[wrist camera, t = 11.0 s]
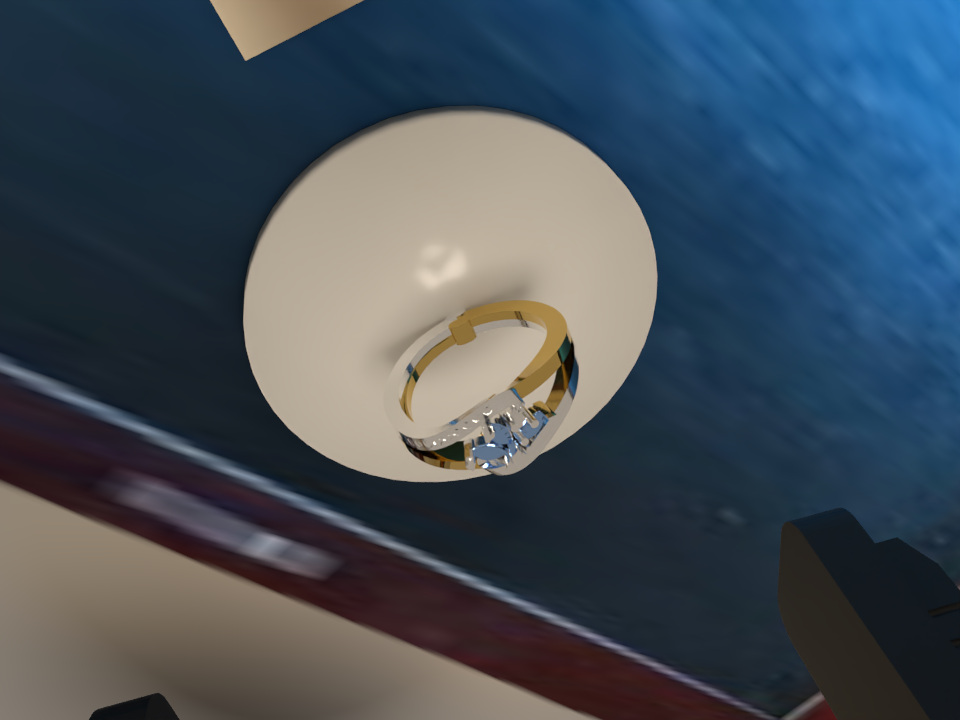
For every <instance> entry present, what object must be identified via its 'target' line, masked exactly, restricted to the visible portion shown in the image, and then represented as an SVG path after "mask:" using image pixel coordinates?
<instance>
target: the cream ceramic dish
mask: <svg viewBox="0 0 960 720" xmlns="http://www.w3.org/2000/svg"><path fill="white" fill-rule="evenodd" d="M656 293H657V267H656V257H655V251H654V247H653V243H652V239H651V235H650V231H649V228H648V226H647V223H646V221H645V219H644V216H643V214H642V212H641V209H640V207H639V206H638V204H637V203H636V201H635V199H634V198H633V196H632V195H631V193H630V191H629V190H628V188H627V187H626V186H625V185H624V184H623V182H622V181H621V180H620V179H619V178H618V177H617V176H616V174H615V173H614V172H613V171H612V170H611V169H610V168H609V166H608V165H607V164H606V163H605V162H604V161H603V160H602V159H601V158H600V157H599V156H598V155H597V154H596V153H595V152H593V151H592V150H591V149H590V148H589V147H588V146H586V145H585V144H584V143H583V142H582V141H580V140H579V139H577V138H575V137H574V136H572V135H571V134H569V133H567V132H566V131H564V130H562V129H561V128H559V127H557V126H555V125H552V124H550V123H548V122H545V121H543V120H541V119H538V118H536V117H534V116H530V115H526V114H523V113H519V112H515V111H511V110H508V109H501V108H493V107H485V106H443V107H436V108H429V109H422V110H416V111H413V112H409V113H406V114H402V115H398V116H395V117H391V118H388V119H385V120H383V121H381V122H378V123H376V124H374V125H371V126H369V127H367V128H364V129H362V130H360V131H358V132H356V133H354V134H353V135H351V136H349V137H348V138H346V139H344V140H343V141H341V142H339V143H337V144H336V145H334V146H333V147H331V148H330V149H329V150H327V151H326V152H325V153H324V154H322V155H321V156H320V157H318V158H317V159H316V160H315V161H313V162H312V163H311V164H310V165H309V166H308V167H307V168H306V169H305V170H304V171H303V172H302V173H301V174H300V175H299V176H298V177H297V178H296V179H295V180H294V181H293V182H292V183H291V184H290V185H289V186H288V188H287V189H286V190H285V192H284V193H283V194H282V196H281V197H280V198H279V200H278V201H277V202H276V204H275V205H274V206H273V208H272V210H271V211H270V213H269V215H268V217H267V219H266V221H265V222H264V224H263V226H262V228H261V230H260V232H259V234H258V237H257V239H256V242H255V245H254V248H253V250H252V253H251V256H250V260H249V264H248V269H247V274H246V279H245V289H244V312H243V325H244V334H245V344H246V350H247V354H248V357H249V361H250V365H251V368H252V372H253V374H254V376H255V378H256V381H257V383H258V385H259V387H260V390H261V392H262V394H263V395H264V397H265V398H266V400H267V401H268V403H269V404H270V406H271V407H272V409H273V411H274V412H275V413H276V414H277V415H278V417H279V418H280V419H281V420H282V421H283V422H284V423H285V425H286V426H287V427H288V428H289V429H290V430H291V431H292V432H293V433H295V434H296V435H297V436H298V437H299V438H300V439H302V440H303V441H304V442H305V443H306V444H307V445H309V446H311V447H312V448H314V449H315V450H317V451H318V452H320V453H321V454H323V455H324V456H326V457H328V458H330V459H332V460H334V461H336V462H338V463H340V464H342V465H344V466H347V467H349V468H352V469H355V470H358V471H361V472H364V473H367V474H370V475H374V476H379V477H384V478H388V479H393V480H403V481H412V482H444V481H454V480H464V479H468V478H473V477H478V476H483V475H488V474H491V473H490V472H488V471H487V470H485V469H483V468H481V469H475V470H474V471H471V470H452V469H444V468H439V467H435V466H432V465H429V464H427V463H425V462H423V461H421V460H419V459H418V458H416V457H415V456H414V455H412V454H411V453H410V452H409V451H408V450H407V449H406V447H405V446H404V445H403V443H402V441H401V440H400V438H399V436H398V435H397V433H396V432H395V431H394V429H393V427H392V425H391V423H390V421H389V419H388V418H387V416H386V413H385V410H384V404H383V397H384V390H385V386H386V383H387V380H388V378H389V376H390V373H391V371H392V370H393V368H394V366H395V365H396V363H397V362H398V360H399V359H400V357H401V356H402V355H403V354H404V352H405V351H406V350H407V349H408V348H409V347H410V346H411V345H412V344H413V343H414V342H415V341H416V340H417V339H419V338H420V337H421V336H422V335H423V334H425V333H426V332H427V331H429V330H430V329H432V328H433V327H435V326H436V325H438V324H440V323H441V322H443V321H445V320H446V319H445V318H446V316H447V315H449V314H450V313H452V312H454V311H457V310H460V309H465V310H466V311H468V310H471V309H474V308H477V307H480V306H484V305H487V304H492V303H497V302H503V301H512V300H527V301H535V302H540V303H543V304H546V305H549V306H551V307H553V308H555V309H556V310H557V311H559V312H560V313H561V314H562V315H563V317H564V318H565V321H566V323H567V326H568V328H569V331H570V333H571V335H572V338H573V341H574V344H575V347H576V350H577V354H578V360H579V378H578V385H577V390H576V394H575V397H574V400H573V403H572V405H571V407H570V410H569V412H568V413H567V415H566V417H565V419H564V421H563V422H562V424H561V425H560V427H559V428H558V430H557V431H556V433H555V434H554V436H553V437H552V439H551V440H550V441H549V443H548V444H547V445H546V447H545V448H544V449H543V451H542V452H541V453H540V454H542V453H543V452H545V451H547V450H549V449H551V448H553V447H554V446H556V445H557V444H559V443H560V442H562V441H563V440H565V439H566V438H568V437H569V436H571V435H572V434H574V433H575V432H576V431H577V430H579V429H580V428H581V427H582V426H583V425H585V424H586V423H587V422H588V421H589V420H591V419H592V418H593V417H594V416H595V415H596V414H597V413H598V412H599V411H600V410H601V409H602V408H603V407H604V406H605V405H606V404H607V403H608V401H609V400H610V399H611V398H612V396H613V395H614V394H615V393H616V391H617V390H618V389H619V388H620V386H621V385H622V384H623V382H624V381H625V379H626V377H627V376H628V374H629V373H630V371H631V369H632V368H633V366H634V365H635V363H636V361H637V359H638V356H639V354H640V352H641V350H642V348H643V346H644V344H645V341H646V338H647V335H648V332H649V329H650V326H651V323H652V318H653V313H654V308H655V302H656ZM476 335H477V337H476V338H475V339H474V340H473V341H471V342H469V343H467V344H464V345H457V344H454V345H453V346H451V347H449V348H448V349H446V350H445V351H444V352H442V353H441V354H440V355H438V356H437V357H436V358H435V359H434V360H433V361H432V362H431V363H430V364H429V365H428V366H427V367H426V369H425V370H424V371H423V373H422V374H421V376H420V377H419V379H418V381H417V383H416V385H415V388H414V391H413V395H412V401H411V412H412V417H413V421H414V423H415V424H417V425H419V426H421V427H425V428H435V427H439V426H442V425H445V424H447V423H449V422H451V421H453V420H454V419H456V418H458V417H459V416H461V415H462V414H464V413H465V412H467V411H468V410H470V409H471V408H472V407H474V406H475V405H477V404H478V403H479V402H481V401H482V400H484V399H485V398H487V397H489V396H491V395H493V394H496V393H502V392H504V390H505V389H506V388H507V387H508V386H509V385H510V384H511V383H512V382H513V381H514V380H515V379H516V378H517V377H518V376H519V375H520V374H521V373H522V372H523V370H524V369H525V368H526V367H527V366H528V365H529V364H530V362H531V361H532V360H533V359H534V357H535V356H536V355H537V353H538V352H539V351H540V349H541V347H542V346H543V344H544V342H545V339H546V336H547V335H546V334H545V333H543V332H541V331H538V330H535V329H532V328H527V327H502V328H496V329H491V330H488V331H484V332H481V333H478V334H476ZM555 376H556V372H555V373H554V374H553V375H552V376H551V377H550V378H549V379H548V380H547V381H545V382H544V383H543V384H542V385H541V386H539V387H538V388H537V389H535V390H534V391H533V392H531V393H530V394H529V395H527V396H526V397H524V398H523V400H524V402H525V406H526V408H527V409H528V408H529V407H531V406H533V405H532V404H533V403H535V402H537V401H540V400H541V401H542V402H543V403H546V401H547V399H548V397H549V394H550V392H551V389H552V387H553V384H554V380H555ZM481 431H482V430H481V427H480V426H479V427H478V428H477V429H475V430H474V431H473V432H471V433H470V434H468V435H467V436H465V437H464V438H462V439H461V440H459V441H466V440H467V439H470V438H472V439H474V438H476V437H479V435H480V433H481ZM540 454H539V455H540Z"/></svg>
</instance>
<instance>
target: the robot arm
mask: <svg viewBox="0 0 960 720" xmlns="http://www.w3.org/2000/svg"><path fill="white" fill-rule="evenodd" d="M778 604H779V609H780V613H781V617H782V620H783V623H784V626H785V628H786V631H787V633H788V635H789V638H790V640H791V642H792V643H793V645H794V647H795V649H796V650H797V652H798V654H799V655H800V657H801V659H802V660H803V662H804V664H805V665H806V667H807V669H808V671H809V672H810V674H811V676H812V677H813V679H814V681H815V682H816V684H817V686H818V687H819V689H820V691H821V693H822V694H823V696H824V698H825V699H826V701H827V703H828V704H829V706H830V708H831V709H832V711H833V713H834V714H835V716H836V718H837V720H960V590H959V589H958V588H957V586H956V585H955V584H954V583H953V582H952V580H951V579H950V578H949V577H948V575H947V574H946V573H945V572H944V571H943V569H942V568H941V567H940V566H939V565H938V564H937V563H936V562H934V561H933V560H931V559H930V558H928V557H926V556H925V555H923V554H922V553H920V552H919V551H917V550H916V549H914V548H913V547H911V546H909V545H908V544H906V543H905V542H903V541H902V540H900V539H899V538H893V539H890V540H886V541H883V542H879V543H874V542H873V540H872V539H871V538H870V536H869V535H868V534H867V532H866V531H865V530H864V529H863V527H862V526H861V525H860V523H859V522H858V521H857V520H856V518H855V517H854V516H853V515H852V514H851V513H850V512H849V511H847V510H846V509H843V508H836V509H833V510H829V511H825V512H822V513H818V514H814V515H811V516H807V517H804V518H800V519H796V520H793V521H789V522H786V523H784V525H783V527H782V531H781V545H780V563H779V581H778ZM89 720H179V718H178V717H177V715H176V714H175V712H174V711H173V709H172V707H171V706H170V705H169V703H168V702H167V700H166V699H165V697H164V696H163V695H161V694H159V693H155V694H151V695H148V696H144V697H141V698H137V699H133V700H129V701H126V702H122V703H119V704H115V705H111V706H108V707H104V708H101V709H98V710H96V711H95V712H93V714H92V715H91V717H90V719H89Z"/></svg>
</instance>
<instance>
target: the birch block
mask: <svg viewBox="0 0 960 720" xmlns="http://www.w3.org/2000/svg"><path fill="white" fill-rule="evenodd" d="M210 1H211V3H212V5H213V6H214V8H215V10H216V11H217V13H218V15H219V17H220V18H221V20H222V22H223V23H224V25H225V27H226V28H227V30H228V32H229V34H230V35H231V37H232V39H233V40H234V42H235V44H236V45H237V47H238V49H239V51H240V52H241V54H242V56H243V57H244V59H245V61H246V60H248V59H250V58H252V57H254V56H256V55H258V54H260V53H262V52H264V51H266V50H268V49H270V48H272V47H274V46H275V45H277V44H279V43H281V42H283V41H285V40H287V39H289V38H291V37H293V36H295V35H297V34H299V33H301V32H303V31H305V30H307V29H309V28H311V27H313V26H314V25H316V24H318V23H320V22H322V21H324V20H326V19H328V18H330V17H332V16H334V15H336V14H338V13H340V12H342V11H344V10H346V9H348V8H350V7H351V6H353V5H355V4H357V3H359V2H361V1H363V0H210Z"/></svg>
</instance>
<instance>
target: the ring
mask: <svg viewBox="0 0 960 720" xmlns="http://www.w3.org/2000/svg"><path fill="white" fill-rule="evenodd" d="M445 319H446V320H445V321H443V322H441V323H440V324H438V325H436V326H435V327H433V328H432V329H430V330H429V331H427V332H426V333H425V334H423V335H422V336H421V337H420V338H419V339H417V340H416V341H415V342H414V343H413V344H412V345H411V346H410V347H409V348H408V349H407V350H406V351H405V352H404V354H403V355H402V356H401V357H400V359H399V360H398V362H397V363H396V365H395V366H394V368H393V370H392V371H391V373H390V376H389V378H388V380H387V383H386V386H385V390H384V397H383V404H384V410H385V413H386V416H387V418H388V419H389V421H390V423H391V425H392V427H393V429H394V431H395V432H396V433H397V435H398V436H399V438H400V440H401V441H402V443H403V445H404V446H405V447H406V449H407V450H408V451H409V452H410V453H411V454H412V455H414V456H415V457H416V458H418V459H419V460H421V461H423V462H425V463H427V464H429V465H432V466H435V467H439V468H444V469H452V470H471V471H474V470H475V469H481V468H483V469H485V470H487V471H488V472H490V473H493V474H496V475H508V474H512V473H515V472H518V471H520V470H521V469H523V468H525V467H526V466H528V465H529V464H530V463H531V462H532V461H533V460H534V459H535V458H536V457H537V456H538V455H539V454H540V453H541V452H542V451H543V449H544V448H545V447H546V445H547V444H548V443H549V441H550V440H551V439H552V437H553V436H554V434H555V433H556V431H557V430H558V428H559V427H560V425H561V424H562V422H563V421H564V419H565V417H566V415H567V413H568V412H569V410H570V407H571V405H572V403H573V400H574V397H575V394H576V390H577V385H578V378H579V360H578V354H577V350H576V347H575V344H574V341H573V338H572V335H571V333H570V331H569V328H568V326H567V323H566V321H565V318H564V317H563V315H562V314H561V313H560V312H559V311H557V310H556V309H555V308H553V307H551V306H549V305H546V304H543V303H540V302H535V301H527V300H512V301H503V302H497V303H492V304H487V305H484V306H480V307H477V308H474V309H471V310H468V311H466V310H465V309H460V310H457V311H454V312H452V313H450V314H449V315H447V316H446V318H445ZM502 327H527V328H532V329H535V330H538V331H541V332H543V333H545V334H546V335H547V336H546V339H545V342H544V344H543V346H542V347H541V349H540V351H539V352H538V353H537V355H536V356H535V357H534V359H533V360H532V361H531V362H530V364H529V365H528V366H527V367H526V368H525V369H524V370H523V372H522V373H521V374H520V375H519V376H518V377H517V378H516V379H515V380H514V381H513V382H512V383H511V384H510V385H509V386H508V387H507V388H506V389H505V390H504V392H502V393H496V394H493V395H491V396H489V397H487V398H485V399H484V400H482V401H481V402H479V403H478V404H477V405H475V406H474V407H472V408H471V409H470V410H468V411H467V412H465V413H464V414H462V415H461V416H459V417H458V418H456V419H454V420H453V421H451V422H449V423H447V424H445V425H442V426H439V427H435V428H425V427H421V426H419V425H417V424H415V423H414V421H413V417H412V412H411V401H412V395H413V391H414V388H415V385H416V383H417V381H418V379H419V377H420V376H421V374H422V373H423V371H424V370H425V369H426V367H427V366H428V365H429V364H430V363H431V362H432V361H433V360H434V359H435V358H436V357H437V356H438V355H440V354H441V353H442V352H444V351H445V350H446V349H448V348H449V347H451V346H453V345H454V344H457V345H464V344H467V343H469V342H471V341H473V340H474V339H475V338H476V337H477V335H476V334H478V333H481V332H484V331H488V330H491V329H496V328H502ZM555 372H556V376H555V380H554V384H553V387H552V389H551V392H550V394H549V397H548V399H547V401H546V403H543V402H542V401H541V400H540V401H537V402H535V403H533V404H532V405H533V406H531V407H529V408H528V409H527V408H526V406H525V402H524V400H523V398H524V397H526V396H527V395H529V394H530V393H531V392H533V391H534V390H535V389H537V388H538V387H539V386H541V385H542V384H543V383H544V382H545V381H547V380H548V379H549V378H550V377H551V376H552V375H553V374H554V373H555ZM479 426H480V427H481V430H482V431H481V433H480V435H479V437H476V438H474V439H472V438H470V439H467V440H466V441H459V440H461V439H462V438H464V437H465V436H467V435H468V434H470V433H471V432H473V431H474V430H475V429H477V428H478V427H479Z"/></svg>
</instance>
